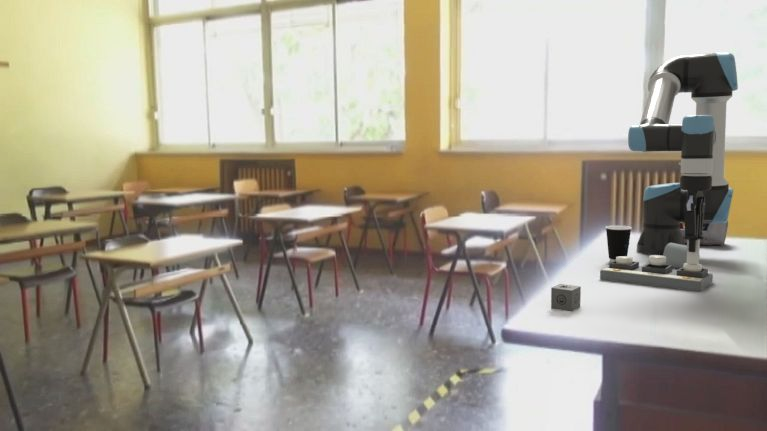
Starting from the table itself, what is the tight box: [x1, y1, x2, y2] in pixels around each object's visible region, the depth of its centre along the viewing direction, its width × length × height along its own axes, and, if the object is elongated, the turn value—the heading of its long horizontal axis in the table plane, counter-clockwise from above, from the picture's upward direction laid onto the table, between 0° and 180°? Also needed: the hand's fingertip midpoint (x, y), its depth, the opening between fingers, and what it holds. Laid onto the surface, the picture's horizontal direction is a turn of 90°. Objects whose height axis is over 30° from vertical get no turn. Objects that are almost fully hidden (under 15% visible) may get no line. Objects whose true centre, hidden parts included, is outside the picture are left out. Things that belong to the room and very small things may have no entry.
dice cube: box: [550, 283, 582, 313], centre depth 150 cm, size 5×5×5 cm
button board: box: [599, 260, 714, 292], centre depth 176 cm, size 12×26×4 cm, turn 51°
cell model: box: [680, 219, 729, 246], centre depth 234 cm, size 13×11×20 cm
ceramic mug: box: [662, 243, 700, 270], centre depth 191 cm, size 11×8×8 cm
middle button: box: [648, 255, 666, 265], centre depth 177 cm, size 4×4×2 cm
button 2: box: [683, 263, 703, 273], centre depth 171 cm, size 4×4×2 cm
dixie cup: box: [605, 225, 633, 263], centre depth 204 cm, size 8×8×11 cm
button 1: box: [616, 255, 634, 265], centre depth 182 cm, size 4×4×2 cm
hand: (692, 263), depth 171 cm, fingers closed
